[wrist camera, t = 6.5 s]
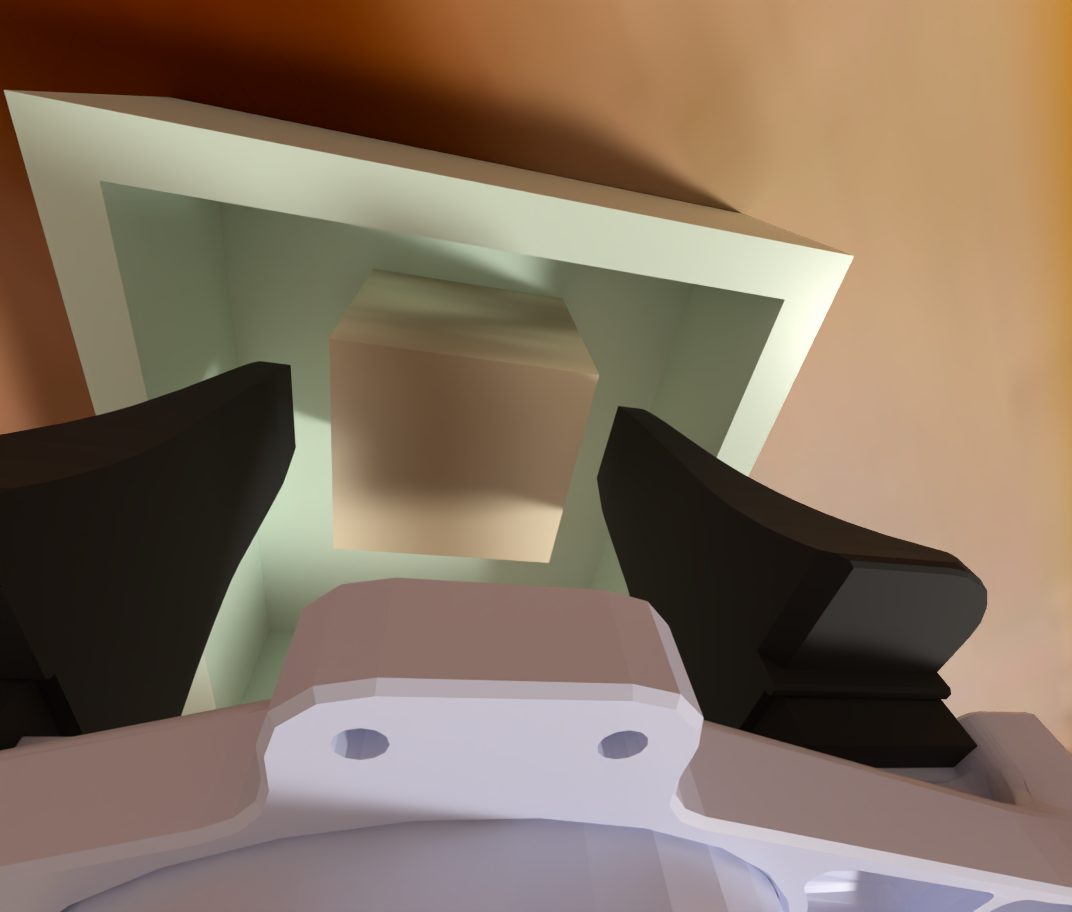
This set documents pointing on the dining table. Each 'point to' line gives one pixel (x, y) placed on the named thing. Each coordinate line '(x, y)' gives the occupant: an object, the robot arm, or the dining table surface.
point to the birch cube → (454, 418)
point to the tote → (334, 281)
